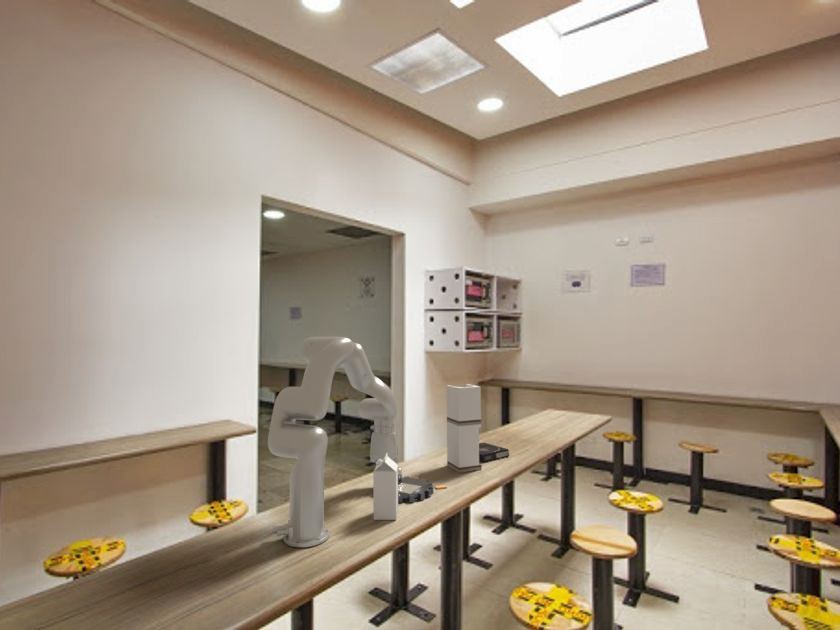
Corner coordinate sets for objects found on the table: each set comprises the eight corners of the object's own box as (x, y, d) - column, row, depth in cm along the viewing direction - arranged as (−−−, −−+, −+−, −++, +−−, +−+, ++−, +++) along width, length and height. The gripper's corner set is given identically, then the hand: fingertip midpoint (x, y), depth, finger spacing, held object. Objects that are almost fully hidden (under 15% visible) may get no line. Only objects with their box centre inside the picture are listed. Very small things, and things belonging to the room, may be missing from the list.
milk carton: (398, 511, 147) (397, 452, 148) (396, 520, 140) (395, 458, 141) (376, 511, 148) (376, 452, 149) (373, 520, 141) (373, 458, 141)
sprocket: (380, 505, 152) (380, 486, 152) (368, 485, 173) (368, 468, 173) (441, 498, 158) (441, 479, 159) (422, 479, 179) (422, 462, 179)
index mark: (436, 489, 168) (436, 487, 168) (434, 487, 170) (434, 486, 170) (446, 488, 170) (446, 486, 170) (444, 486, 171) (444, 485, 171)
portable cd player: (483, 464, 202) (483, 455, 202) (458, 456, 216) (458, 447, 216) (509, 458, 212) (509, 449, 212) (483, 450, 225) (483, 442, 226)
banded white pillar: (481, 469, 192) (480, 386, 194) (459, 472, 188) (458, 387, 190) (468, 462, 203) (467, 384, 204) (447, 465, 199) (446, 385, 200)
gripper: (362, 430, 170) (362, 480, 170) (402, 431, 169) (402, 481, 168) (366, 426, 178) (366, 474, 177) (404, 427, 177) (404, 474, 176)
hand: (384, 477), depth 173 cm, fingers closed
